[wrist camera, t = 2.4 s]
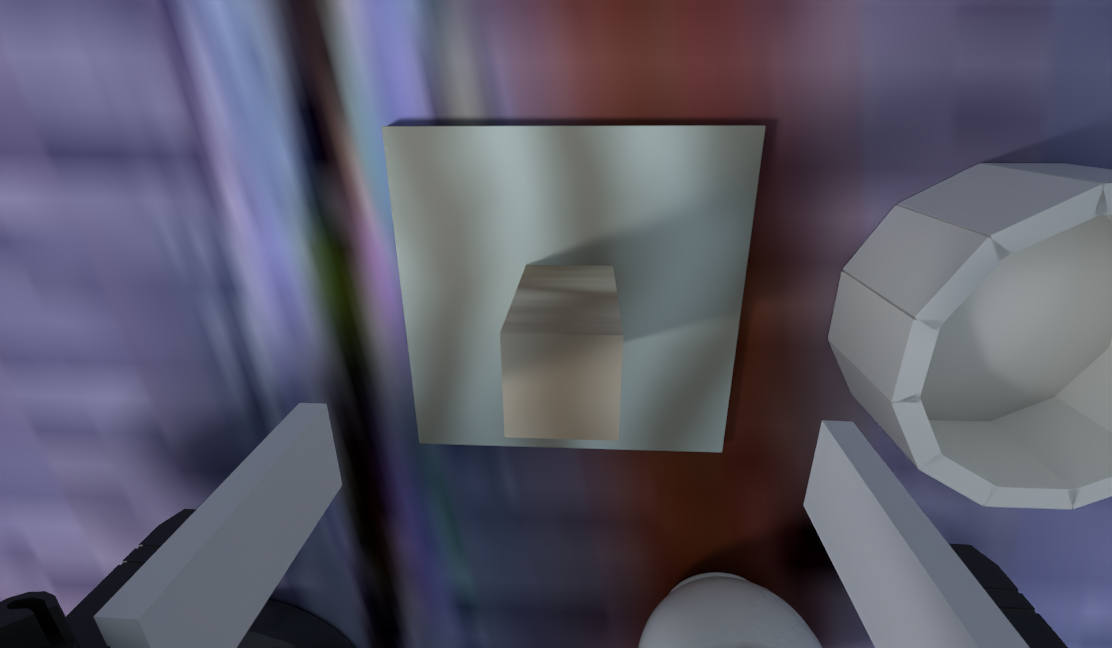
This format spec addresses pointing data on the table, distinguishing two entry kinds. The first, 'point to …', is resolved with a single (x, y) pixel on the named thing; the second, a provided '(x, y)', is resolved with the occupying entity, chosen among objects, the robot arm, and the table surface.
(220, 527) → the robot arm
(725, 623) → the lidded jar
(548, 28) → the table surface
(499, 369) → the lid
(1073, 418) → the bowl
